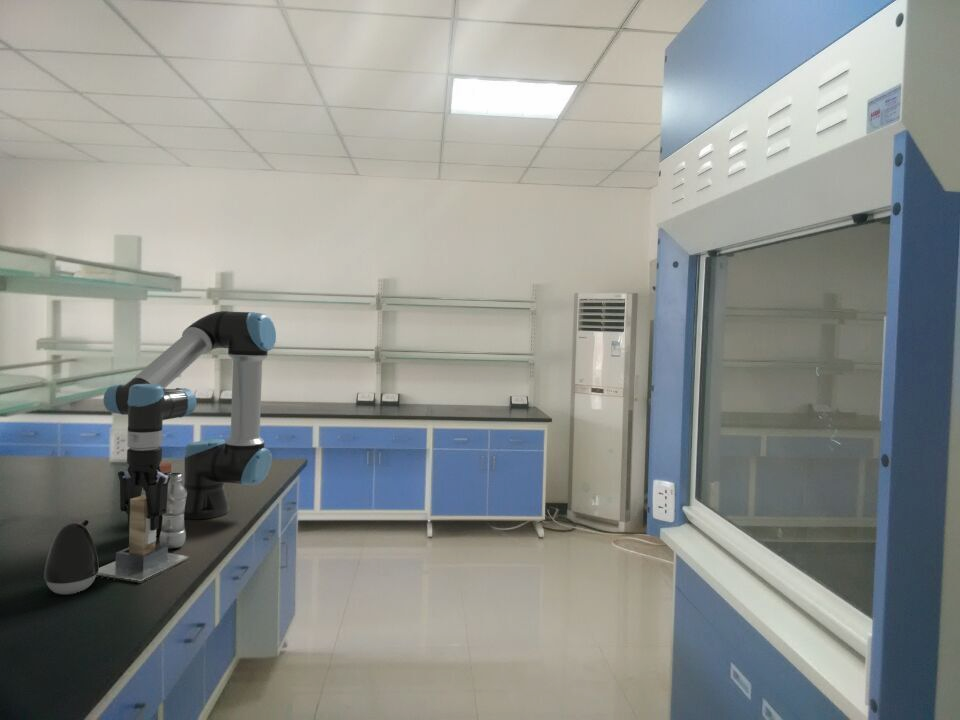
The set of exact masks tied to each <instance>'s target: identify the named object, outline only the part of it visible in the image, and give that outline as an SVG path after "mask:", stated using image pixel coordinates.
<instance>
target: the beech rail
mask: <svg viewBox="0 0 960 720" xmlns="http://www.w3.org/2000/svg"><path fill="white" fill-rule="evenodd" d="M147 516H149V514H148V507H147V500H146V494H141V496H139V497H135V498H132V499H130V536H129V535H128V536H129V538H128V543H129V544H128V548H129V553H132V554H138V555H145V554H147V553H149V552H152V551H154V550H155V544H156V541H155V542H152V543H150V544H145V536H146V518H147Z"/></svg>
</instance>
